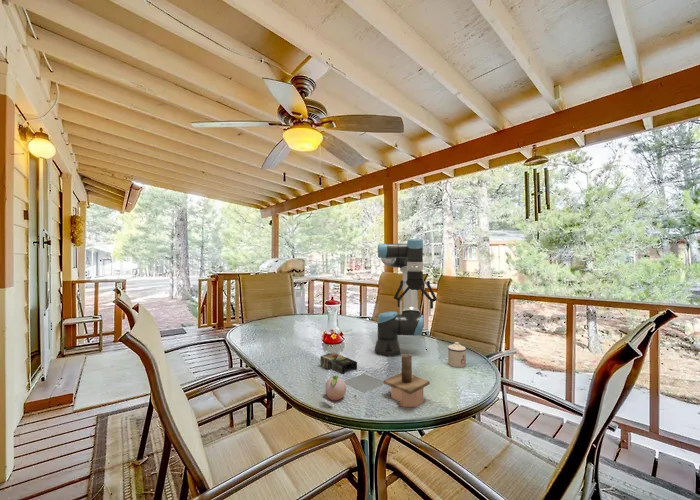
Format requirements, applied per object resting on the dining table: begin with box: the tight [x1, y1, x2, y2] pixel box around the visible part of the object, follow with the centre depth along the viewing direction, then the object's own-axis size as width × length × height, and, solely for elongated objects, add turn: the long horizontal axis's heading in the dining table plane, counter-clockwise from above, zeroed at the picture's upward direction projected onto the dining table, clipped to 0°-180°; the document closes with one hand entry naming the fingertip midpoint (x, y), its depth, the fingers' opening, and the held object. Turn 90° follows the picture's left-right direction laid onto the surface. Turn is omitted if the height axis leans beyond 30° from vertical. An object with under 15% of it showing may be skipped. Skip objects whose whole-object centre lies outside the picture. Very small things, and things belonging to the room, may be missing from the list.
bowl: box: [390, 386, 424, 408], centre depth 121 cm, size 12×12×6 cm
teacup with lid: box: [447, 341, 467, 368], centre depth 160 cm, size 12×9×12 cm
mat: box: [343, 373, 385, 393], centre depth 133 cm, size 14×14×2 cm
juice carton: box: [319, 352, 358, 375], centre depth 153 cm, size 20×10×6 cm, turn 40°
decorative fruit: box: [325, 375, 347, 401], centre depth 120 cm, size 9×8×10 cm
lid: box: [383, 353, 431, 394], centre depth 121 cm, size 13×13×11 cm
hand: (415, 314), depth 146 cm, fingers open, 13 cm apart
